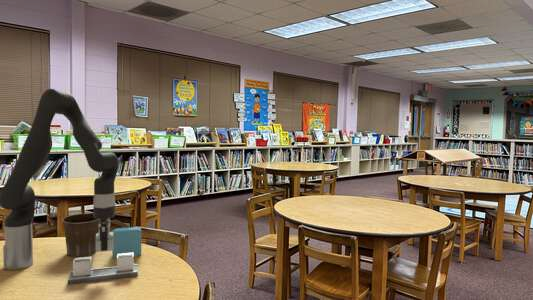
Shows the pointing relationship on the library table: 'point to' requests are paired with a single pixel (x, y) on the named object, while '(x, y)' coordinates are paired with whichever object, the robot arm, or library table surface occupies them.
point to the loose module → (109, 242)
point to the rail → (102, 269)
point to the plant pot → (80, 234)
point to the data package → (127, 241)
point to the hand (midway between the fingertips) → (104, 248)
